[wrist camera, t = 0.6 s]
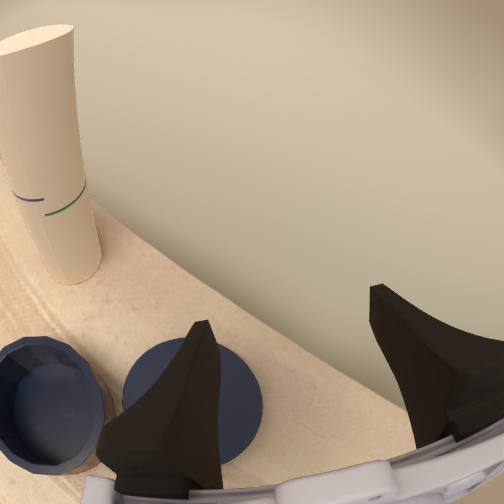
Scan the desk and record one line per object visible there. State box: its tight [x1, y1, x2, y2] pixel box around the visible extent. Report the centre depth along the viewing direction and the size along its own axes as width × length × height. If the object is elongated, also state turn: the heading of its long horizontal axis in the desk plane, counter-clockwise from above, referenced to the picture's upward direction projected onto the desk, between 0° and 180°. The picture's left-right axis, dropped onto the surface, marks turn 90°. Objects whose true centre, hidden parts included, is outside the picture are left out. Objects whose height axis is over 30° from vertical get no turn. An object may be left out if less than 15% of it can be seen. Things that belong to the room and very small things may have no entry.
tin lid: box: [122, 338, 263, 464], centre depth 24 cm, size 13×13×5 cm
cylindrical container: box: [0, 24, 102, 285], centre depth 23 cm, size 7×7×25 cm
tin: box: [0, 336, 116, 475], centre depth 20 cm, size 12×12×5 cm
